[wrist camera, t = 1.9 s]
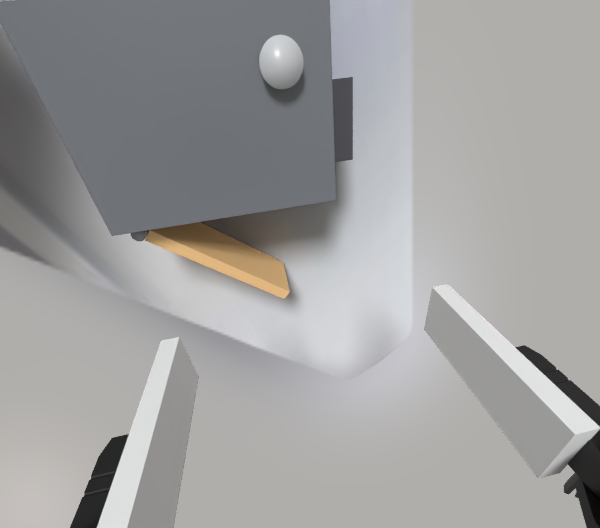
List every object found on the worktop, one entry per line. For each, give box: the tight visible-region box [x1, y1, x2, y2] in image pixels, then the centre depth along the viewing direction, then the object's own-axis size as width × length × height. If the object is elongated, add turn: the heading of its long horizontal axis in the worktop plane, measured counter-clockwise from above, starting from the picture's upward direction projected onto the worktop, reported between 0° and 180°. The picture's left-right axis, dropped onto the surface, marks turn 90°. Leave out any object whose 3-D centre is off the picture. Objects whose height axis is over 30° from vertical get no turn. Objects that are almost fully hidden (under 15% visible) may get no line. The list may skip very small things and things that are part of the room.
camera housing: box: [0, 0, 353, 236], centre depth 20 cm, size 18×12×9 cm
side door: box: [131, 222, 290, 299], centre depth 26 cm, size 14×1×6 cm, turn 56°
